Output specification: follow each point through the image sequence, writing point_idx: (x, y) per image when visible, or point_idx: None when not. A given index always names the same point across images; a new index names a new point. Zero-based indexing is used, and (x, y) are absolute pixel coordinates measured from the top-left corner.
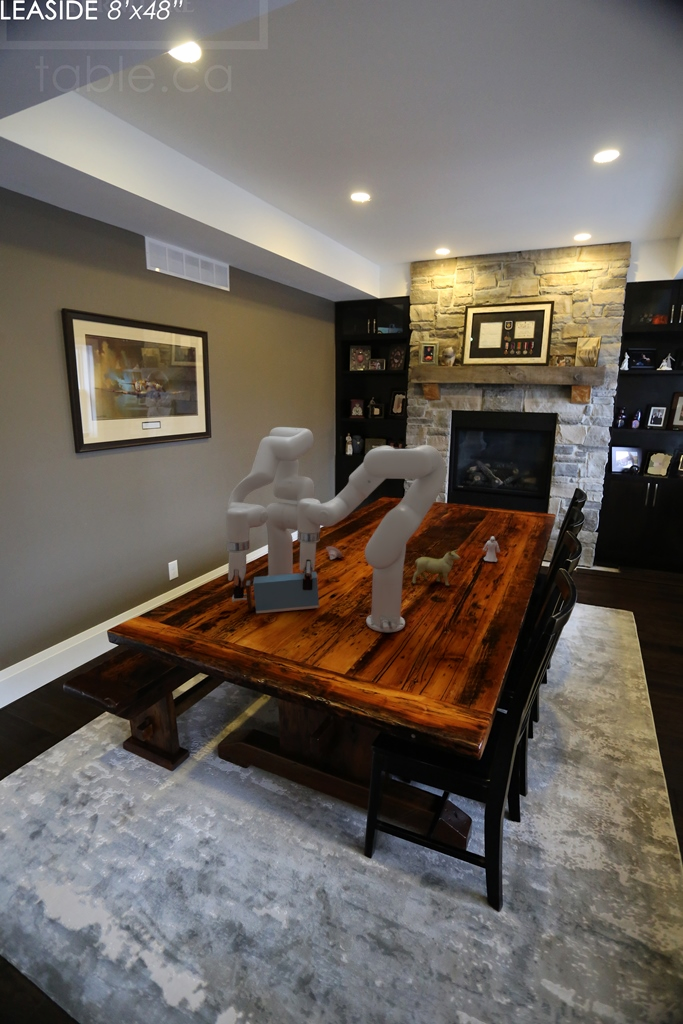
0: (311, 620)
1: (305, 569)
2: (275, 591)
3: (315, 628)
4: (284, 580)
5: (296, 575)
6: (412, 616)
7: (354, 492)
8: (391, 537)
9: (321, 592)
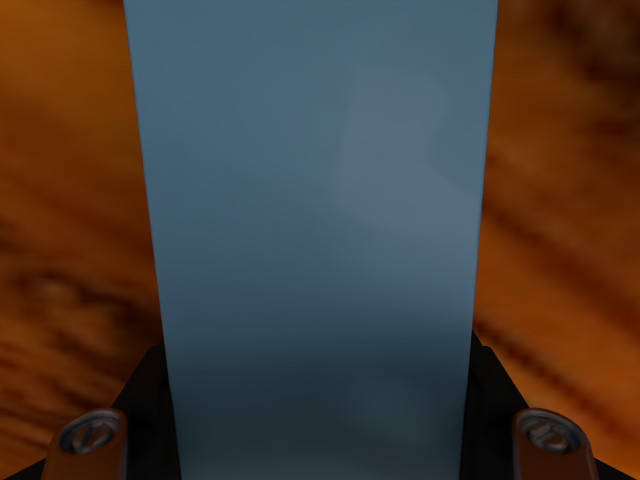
0: (123, 271)
1: (505, 467)
2: None
3: (9, 293)
4: (134, 31)
5: (365, 276)
6: None
7: None
8: None
9: (581, 346)
